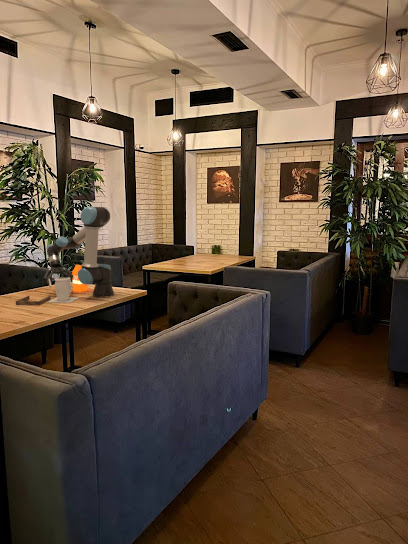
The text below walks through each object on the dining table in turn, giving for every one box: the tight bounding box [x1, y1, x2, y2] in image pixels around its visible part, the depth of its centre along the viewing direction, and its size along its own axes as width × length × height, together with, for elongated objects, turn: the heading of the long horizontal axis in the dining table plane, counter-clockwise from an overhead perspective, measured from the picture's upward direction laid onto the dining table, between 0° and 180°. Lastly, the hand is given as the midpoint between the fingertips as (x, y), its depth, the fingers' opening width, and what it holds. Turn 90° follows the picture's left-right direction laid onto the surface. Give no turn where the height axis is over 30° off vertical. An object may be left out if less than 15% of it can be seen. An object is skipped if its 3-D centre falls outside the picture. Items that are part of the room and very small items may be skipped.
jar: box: [54, 276, 72, 301], centre depth 277 cm, size 11×10×15 cm
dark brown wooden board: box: [15, 295, 52, 306], centre depth 272 cm, size 16×17×2 cm
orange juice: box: [71, 264, 89, 293], centre depth 313 cm, size 8×9×20 cm
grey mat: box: [47, 296, 80, 304], centre depth 279 cm, size 16×16×1 cm
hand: (60, 286), depth 282 cm, fingers open, 13 cm apart
